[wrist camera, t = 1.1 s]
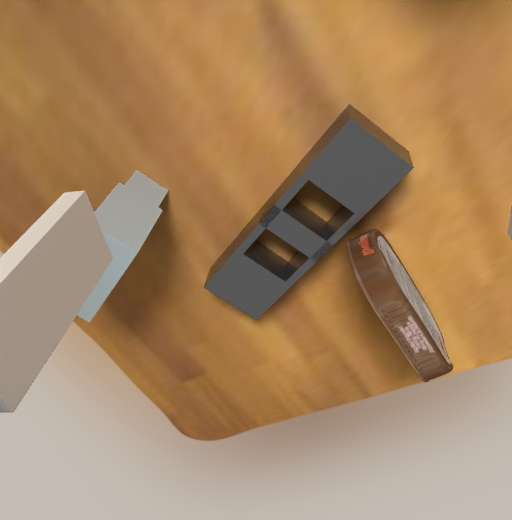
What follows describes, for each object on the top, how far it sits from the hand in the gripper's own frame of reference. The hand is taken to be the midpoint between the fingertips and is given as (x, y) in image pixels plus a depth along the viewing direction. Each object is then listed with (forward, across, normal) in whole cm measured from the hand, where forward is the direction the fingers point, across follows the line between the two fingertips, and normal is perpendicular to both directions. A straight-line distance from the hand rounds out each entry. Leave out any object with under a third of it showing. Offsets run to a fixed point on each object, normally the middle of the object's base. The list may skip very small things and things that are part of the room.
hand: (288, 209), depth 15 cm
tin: (+24, +6, -21) cm, 32 cm away
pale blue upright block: (+23, -18, -12) cm, 31 cm away
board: (+23, -3, -14) cm, 27 cm away
